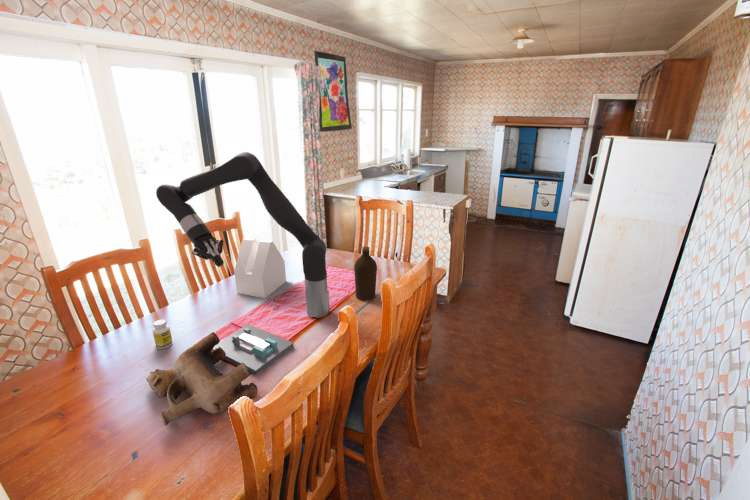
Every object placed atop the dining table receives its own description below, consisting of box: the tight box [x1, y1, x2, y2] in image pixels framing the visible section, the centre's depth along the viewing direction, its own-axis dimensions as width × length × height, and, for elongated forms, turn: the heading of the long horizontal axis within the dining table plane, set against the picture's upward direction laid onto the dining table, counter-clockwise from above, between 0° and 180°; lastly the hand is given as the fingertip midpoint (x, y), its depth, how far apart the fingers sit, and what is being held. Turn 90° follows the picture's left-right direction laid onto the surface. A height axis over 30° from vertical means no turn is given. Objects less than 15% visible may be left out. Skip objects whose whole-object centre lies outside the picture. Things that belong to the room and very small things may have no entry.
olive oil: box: [353, 246, 378, 301], centre depth 166 cm, size 11×11×25 cm
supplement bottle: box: [152, 319, 173, 350], centre depth 131 cm, size 5×5×10 cm
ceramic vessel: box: [146, 332, 258, 427], centre depth 108 cm, size 13×31×25 cm
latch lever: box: [239, 333, 270, 350], centre depth 129 cm, size 3×1×13 cm
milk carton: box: [233, 237, 287, 299], centre depth 174 cm, size 19×15×25 cm
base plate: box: [211, 323, 294, 376], centre depth 130 cm, size 18×24×6 cm
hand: (221, 265), depth 134 cm, fingers closed
